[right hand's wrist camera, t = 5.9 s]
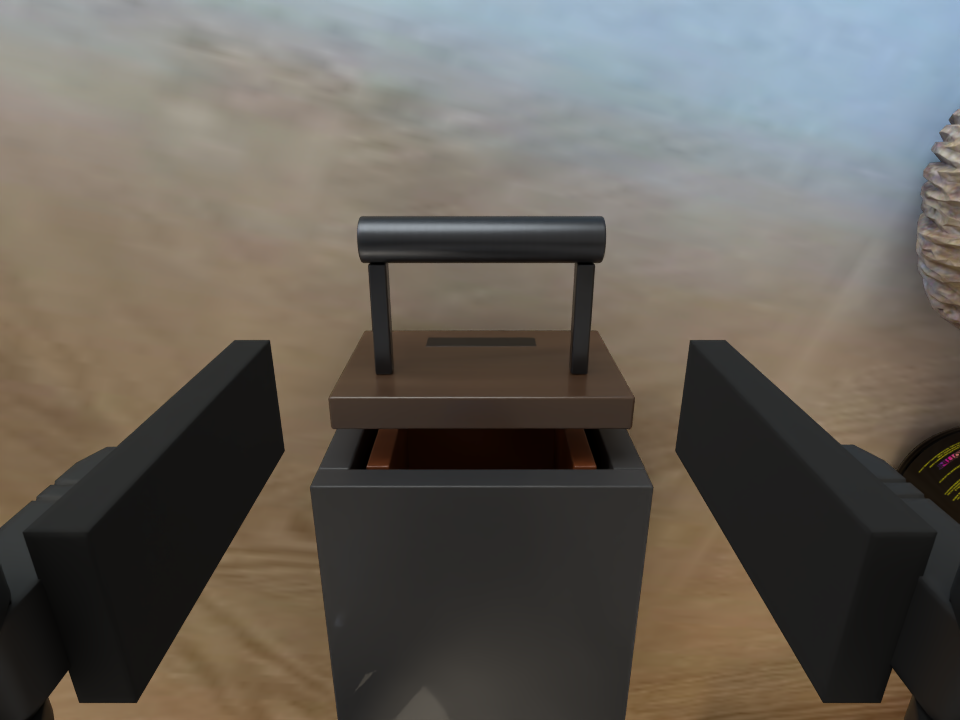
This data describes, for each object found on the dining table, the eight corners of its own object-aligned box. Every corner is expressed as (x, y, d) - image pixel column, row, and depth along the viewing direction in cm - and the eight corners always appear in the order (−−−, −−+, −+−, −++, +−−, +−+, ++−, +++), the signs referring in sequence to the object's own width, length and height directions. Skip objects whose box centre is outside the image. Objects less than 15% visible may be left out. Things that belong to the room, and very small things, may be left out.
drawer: (354, 199, 24) (310, 227, 18) (607, 199, 24) (653, 227, 18) (388, 658, 33) (366, 786, 27) (573, 658, 33) (595, 786, 27)
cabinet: (359, 378, 28) (308, 486, 20) (602, 378, 28) (654, 486, 20) (384, 696, 35) (355, 872, 27) (577, 696, 35) (607, 872, 27)
